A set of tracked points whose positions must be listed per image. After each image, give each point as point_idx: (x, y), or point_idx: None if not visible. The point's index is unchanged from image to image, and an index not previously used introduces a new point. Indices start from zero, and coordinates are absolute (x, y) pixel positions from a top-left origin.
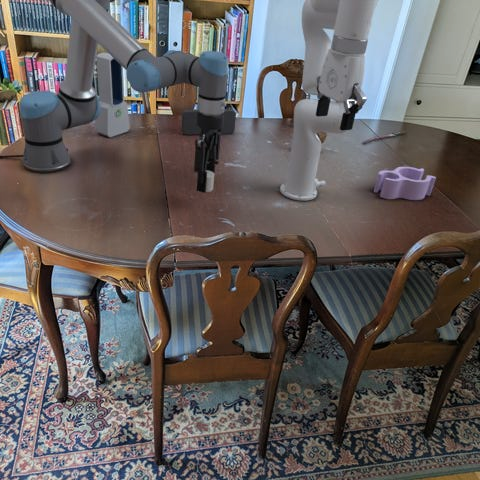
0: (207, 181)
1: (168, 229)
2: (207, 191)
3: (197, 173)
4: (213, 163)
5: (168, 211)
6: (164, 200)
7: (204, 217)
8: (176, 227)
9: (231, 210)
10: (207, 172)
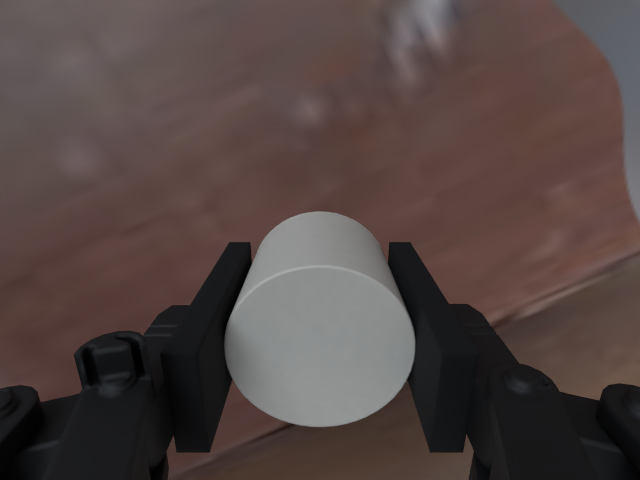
0: (389, 279)
1: (623, 273)
2: (370, 234)
3: (366, 416)
4: (151, 388)
5: None
6: None
7: (437, 166)
8: (593, 249)
9: (273, 47)
10: (282, 351)
